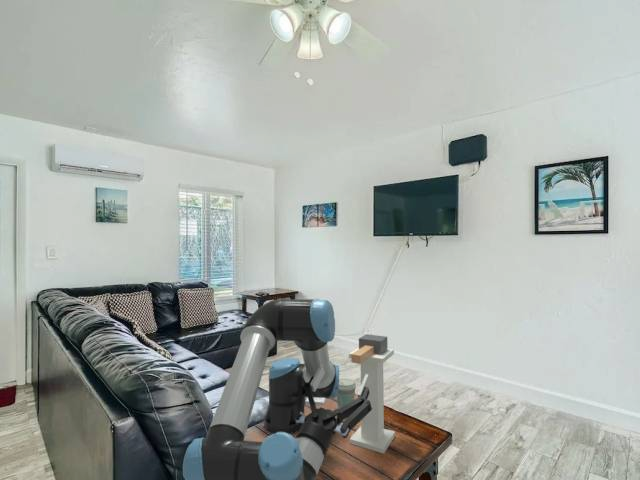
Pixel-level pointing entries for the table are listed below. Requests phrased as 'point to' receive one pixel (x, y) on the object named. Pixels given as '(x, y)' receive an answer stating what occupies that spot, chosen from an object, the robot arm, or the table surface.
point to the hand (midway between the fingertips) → (344, 373)
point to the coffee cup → (345, 392)
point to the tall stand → (374, 407)
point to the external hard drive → (316, 400)
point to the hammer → (369, 347)
